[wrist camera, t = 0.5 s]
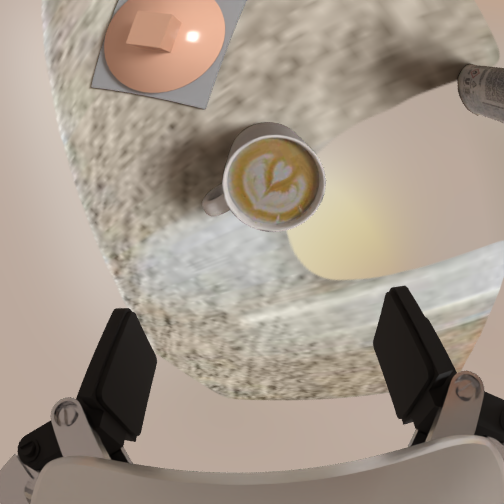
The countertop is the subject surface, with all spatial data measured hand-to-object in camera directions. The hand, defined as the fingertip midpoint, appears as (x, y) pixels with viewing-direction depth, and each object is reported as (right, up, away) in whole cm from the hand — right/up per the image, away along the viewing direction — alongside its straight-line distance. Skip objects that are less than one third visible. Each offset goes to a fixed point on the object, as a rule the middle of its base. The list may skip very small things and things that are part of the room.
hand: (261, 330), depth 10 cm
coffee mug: (0, +14, +26) cm, 29 cm away
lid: (-11, +28, +16) cm, 34 cm away
